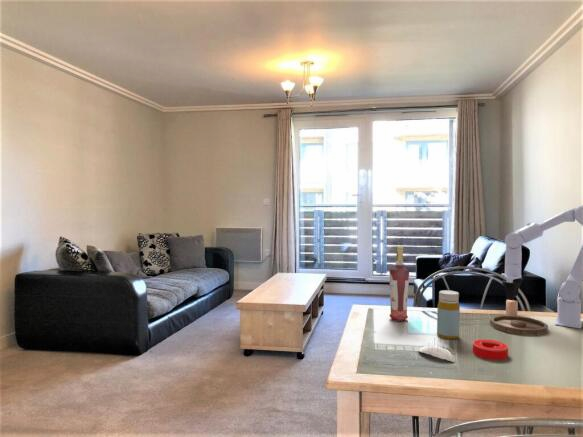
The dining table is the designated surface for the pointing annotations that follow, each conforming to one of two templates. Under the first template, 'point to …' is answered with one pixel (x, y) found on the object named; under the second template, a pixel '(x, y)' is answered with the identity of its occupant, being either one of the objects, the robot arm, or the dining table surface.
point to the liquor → (399, 288)
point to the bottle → (448, 314)
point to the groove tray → (519, 325)
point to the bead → (511, 307)
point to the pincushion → (437, 352)
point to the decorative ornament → (490, 349)
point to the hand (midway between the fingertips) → (511, 298)
